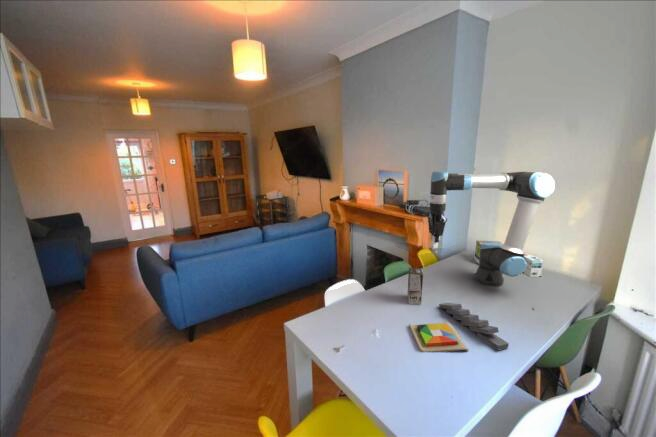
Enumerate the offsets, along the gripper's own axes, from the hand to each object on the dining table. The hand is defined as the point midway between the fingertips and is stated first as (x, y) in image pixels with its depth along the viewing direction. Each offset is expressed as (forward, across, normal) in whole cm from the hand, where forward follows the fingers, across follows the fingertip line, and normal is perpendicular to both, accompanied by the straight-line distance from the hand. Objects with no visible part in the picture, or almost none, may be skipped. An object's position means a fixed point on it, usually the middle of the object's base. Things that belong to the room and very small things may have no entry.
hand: (434, 247), depth 147 cm
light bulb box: (+27, -4, +74) cm, 79 cm away
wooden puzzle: (+27, +32, -21) cm, 47 cm away
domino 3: (+26, +22, -2) cm, 34 cm away
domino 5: (+25, +32, -2) cm, 41 cm away
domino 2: (+26, +18, -2) cm, 31 cm away
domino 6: (+26, +36, -2) cm, 44 cm away
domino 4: (+26, +28, -2) cm, 38 cm away
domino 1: (+26, +12, -2) cm, 29 cm away
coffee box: (+27, +2, -12) cm, 29 cm away
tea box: (+27, -26, +64) cm, 74 cm away
